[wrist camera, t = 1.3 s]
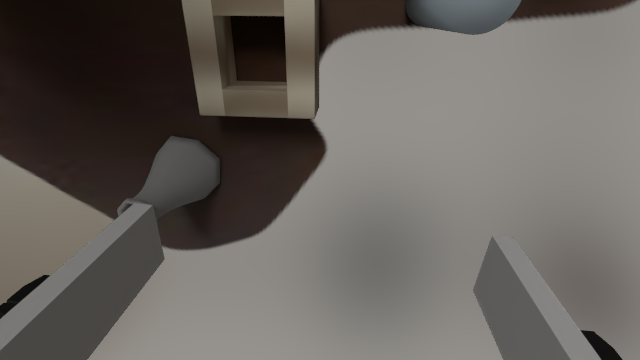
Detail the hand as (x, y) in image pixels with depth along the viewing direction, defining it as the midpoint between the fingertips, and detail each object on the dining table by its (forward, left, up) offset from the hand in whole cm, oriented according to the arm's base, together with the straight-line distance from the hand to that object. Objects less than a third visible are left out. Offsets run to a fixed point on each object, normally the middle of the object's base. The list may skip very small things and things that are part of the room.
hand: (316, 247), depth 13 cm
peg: (-9, +7, -21) cm, 24 cm away
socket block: (-5, -7, -21) cm, 22 cm away
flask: (+7, -16, -21) cm, 27 cm away
